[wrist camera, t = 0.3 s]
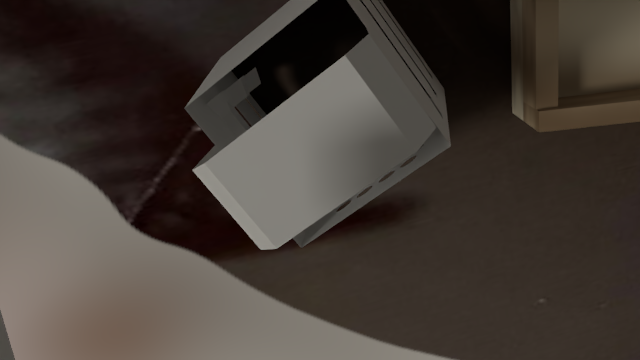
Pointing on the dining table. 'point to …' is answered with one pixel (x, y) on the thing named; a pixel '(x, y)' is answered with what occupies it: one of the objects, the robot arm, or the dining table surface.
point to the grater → (318, 131)
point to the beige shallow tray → (575, 62)
